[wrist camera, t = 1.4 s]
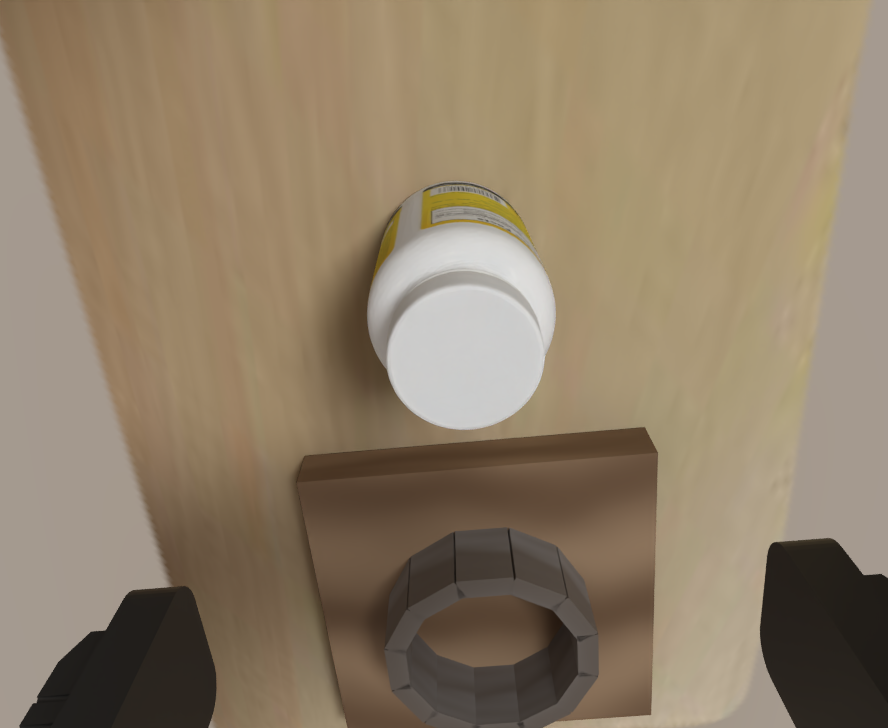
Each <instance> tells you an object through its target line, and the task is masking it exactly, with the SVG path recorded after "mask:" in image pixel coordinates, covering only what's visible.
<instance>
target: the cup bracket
mask: <svg viewBox="0 0 888 728" xmlns="http://www.w3.org/2000/svg"><path fill="white" fill-rule="evenodd" d="M657 465H658V452H657V450H656V448H655V446H654V444H653V442H652V440H651V439H650V437H649V435H648V433H647V431H646V429H645V427H644V428H632V429H620V430H608V431H596V432H584V433H572V434H560V435H548V436H536V437H524V438H512V439H500V440H488V441H476V442H465V443H453V444H441V445H429V446H417V447H405V448H393V449H381V450H369V451H357V452H345V453H333V454H321V455H309V456H305V458H304V461H303V464H302V467H301V470H300V473H299V476H298V479H297V482H296V483H297V488H298V493H299V497H300V502H301V507H302V512H303V517H304V521H305V526H306V531H307V536H308V541H309V545H310V550H311V555H312V560H313V564H314V569H315V574H316V579H317V584H318V588H319V593H320V598H321V603H322V608H323V612H324V617H325V622H326V627H327V632H328V636H329V641H330V646H331V651H332V656H333V660H334V665H335V670H336V675H337V680H338V684H339V689H340V694H341V699H342V703H343V708H344V713H345V718H346V723H347V727H348V728H543V727H545V726H547V725H549V724H551V723H553V722H555V721H568V720H583V719H597V718H612V717H626V716H641V715H651V698H652V659H653V620H654V581H655V542H656V503H657Z"/></svg>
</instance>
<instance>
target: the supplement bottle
mask: <svg viewBox="0 0 888 728" xmlns="http://www.w3.org/2000/svg"><path fill="white" fill-rule="evenodd" d="M555 318H556V308H555V299H554V295H553V291H552V286H551V283H550V280H549V277H548V275H547V273H546V270H545V268H544V266H543V264H542V262H541V260H540V258H539V256H538V254H537V251H536V249H535V247H534V245H533V243H532V241H531V238H530V236H529V234H528V232H527V230H526V228H525V225H524V223H523V222H522V220H521V218H520V217H519V215H518V214H517V213H516V211H515V210H514V209H513V207H512V206H511V205H510V204H509V203H508V202H507V201H506V200H505V199H504V198H502V197H501V196H500V195H499V194H497V193H496V192H494V191H492V190H490V189H489V188H487V187H484V186H481V185H479V184H475V183H471V182H464V181H446V182H441V183H437V184H433V185H430V186H427V187H425V188H423V189H421V190H419V191H417V192H416V193H414V194H413V195H411V196H410V197H409V198H407V199H406V200H405V201H404V202H403V203H402V204H401V205H400V206H399V208H398V209H397V210H396V211H395V213H394V214H393V216H392V217H391V219H390V221H389V223H388V225H387V228H386V230H385V233H384V235H383V239H382V242H381V247H380V251H379V255H378V259H377V263H376V267H375V271H374V275H373V279H372V283H371V287H370V292H369V298H368V308H367V323H368V330H369V335H370V339H371V342H372V345H373V347H374V350H375V352H376V354H377V356H378V358H379V359H380V361H381V362H382V364H383V365H384V367H385V368H386V369H387V372H388V376H389V380H390V382H391V385H392V387H393V389H394V391H395V393H396V394H397V396H398V397H399V399H400V400H401V401H402V402H403V403H404V404H405V406H406V407H407V408H408V409H409V410H411V411H412V412H413V413H414V414H415V415H417V416H419V417H420V418H422V419H424V420H425V421H427V422H430V423H432V424H435V425H437V426H440V427H444V428H449V429H457V430H472V429H479V428H484V427H487V426H491V425H494V424H496V423H499V422H501V421H503V420H505V419H506V418H508V417H510V416H511V415H513V414H514V413H516V412H517V411H518V410H519V409H521V408H522V407H523V406H524V405H525V404H526V403H527V401H528V400H529V399H530V398H531V396H532V395H533V393H534V392H535V390H536V388H537V386H538V384H539V382H540V379H541V376H542V373H543V368H544V361H545V355H546V353H547V351H548V349H549V346H550V343H551V340H552V337H553V333H554V327H555Z"/></svg>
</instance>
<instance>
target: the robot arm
mask: <svg viewBox="0 0 888 728" xmlns="http://www.w3.org/2000/svg"><path fill="white" fill-rule="evenodd" d="M760 639H761V647H762V652H763V657H764V660H765V664H766V667H767V670H768V673H769V675H770V677H771V679H772V681H773V683H774V685H775V687H776V689H777V691H778V693H779V695H780V697H781V699H782V701H783V703H784V705H785V707H786V709H787V711H788V713H789V715H790V717H791V719H792V721H793V723H794V724H795V727H796V728H888V578H887V577H885V576H884V575H882V574H876V575H863V574H862V573H861V571H859V569H858V567H857V566H856V565H855V564H854V562H853V561H852V560H851V558H850V557H849V556H848V555H847V554H846V552H845V551H844V550H843V548H842V547H841V546H840V545H839V544H838V542H836V541H835V540H833V539H831V538H824V539H811V540H798V541H785V542H774V543H772V544H771V546H770V548H769V550H768V555H767V564H766V574H765V584H764V594H763V604H762V614H761V624H760ZM37 698H38V700H37V703H34V704H32V706H31V707H30V709H29V711H28V712H27V714H26V716H25V717H24V719H23V721H22V722H21V724H20V728H208V726H209V724H210V721H211V718H212V715H213V711H214V706H215V700H216V672H215V666H214V663H213V659H212V656H211V652H210V649H209V646H208V642H207V639H206V635H205V632H204V629H203V625H202V622H201V618H200V615H199V612H198V608H197V605H196V601H195V598H194V595H193V593H192V591H191V590H190V589H189V588H188V587H186V586H181V587H168V588H155V589H144V590H143V589H142V590H133V591H131V592H129V593H128V594H127V595H126V596H125V598H124V600H123V601H122V603H121V605H120V607H119V608H118V610H117V612H116V613H115V615H114V617H113V619H112V620H111V622H110V624H109V626H108V627H107V629H106V631H94V632H90V633H89V634H88V635H87V636H86V637H85V638H84V639H83V640H82V641H81V642H80V643H78V645H76V646H75V647H74V648H73V649H72V650H71V651H70V652H69V653H68V654H67V655H66V656H64V658H62V659H61V660H60V661H59V662H58V664H57V665H56V667H55V668H54V670H53V672H52V673H51V675H50V677H49V678H48V680H47V681H46V683H45V685H44V687H43V688H42V690H41V691H40V693H39V694H38V696H37Z"/></svg>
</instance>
